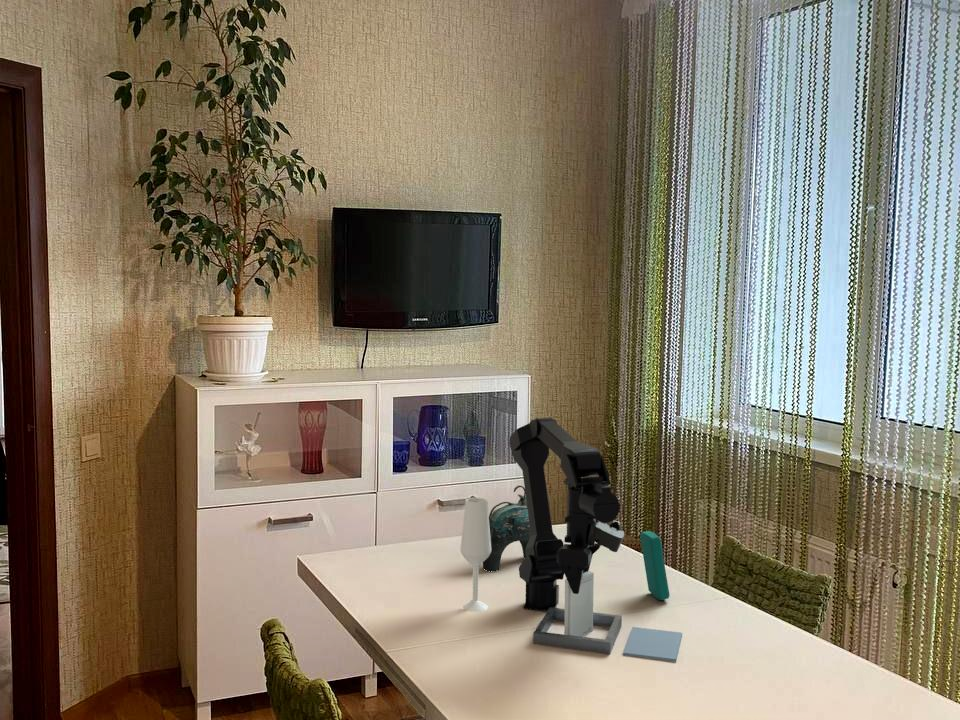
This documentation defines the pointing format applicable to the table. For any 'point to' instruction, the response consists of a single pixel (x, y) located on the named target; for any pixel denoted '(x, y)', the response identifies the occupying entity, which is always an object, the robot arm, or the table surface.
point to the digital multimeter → (654, 565)
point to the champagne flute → (476, 543)
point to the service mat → (653, 644)
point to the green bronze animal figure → (507, 530)
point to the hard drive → (579, 607)
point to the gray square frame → (576, 641)
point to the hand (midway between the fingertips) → (579, 586)
